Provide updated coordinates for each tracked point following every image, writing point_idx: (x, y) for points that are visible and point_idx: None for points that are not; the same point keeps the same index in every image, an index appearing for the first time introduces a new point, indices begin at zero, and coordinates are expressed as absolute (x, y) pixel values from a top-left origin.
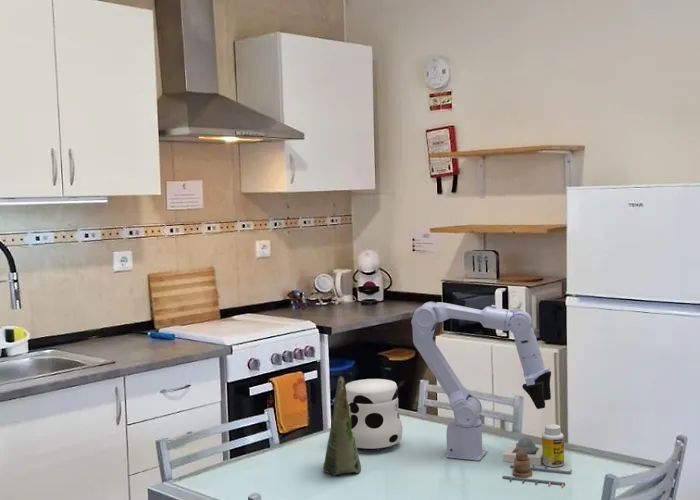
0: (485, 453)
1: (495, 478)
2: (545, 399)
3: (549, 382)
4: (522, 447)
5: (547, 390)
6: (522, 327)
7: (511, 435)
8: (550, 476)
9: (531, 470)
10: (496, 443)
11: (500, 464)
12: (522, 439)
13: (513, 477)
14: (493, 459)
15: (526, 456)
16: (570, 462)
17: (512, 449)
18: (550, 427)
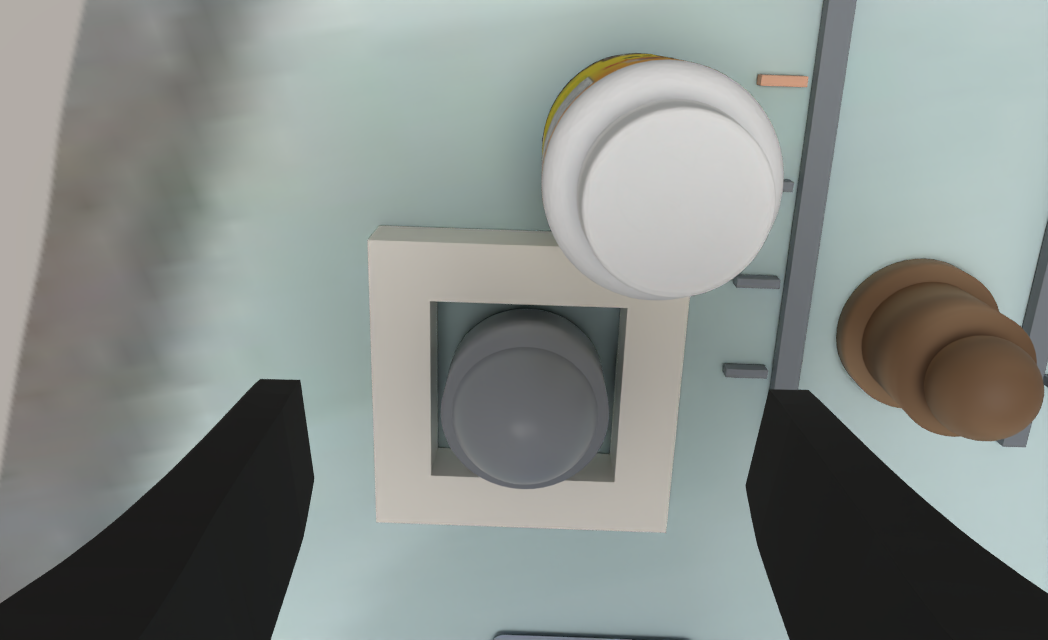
0: (544, 637)
1: (1015, 482)
2: (304, 456)
3: (116, 583)
4: (604, 426)
5: (244, 511)
6: None
7: (53, 557)
8: (926, 118)
9: (904, 275)
10: (279, 614)
11: (723, 506)
12: (551, 460)
13: None
14: (629, 567)
15: (1017, 346)
16: (550, 7)
17: (536, 491)
18: (734, 224)
